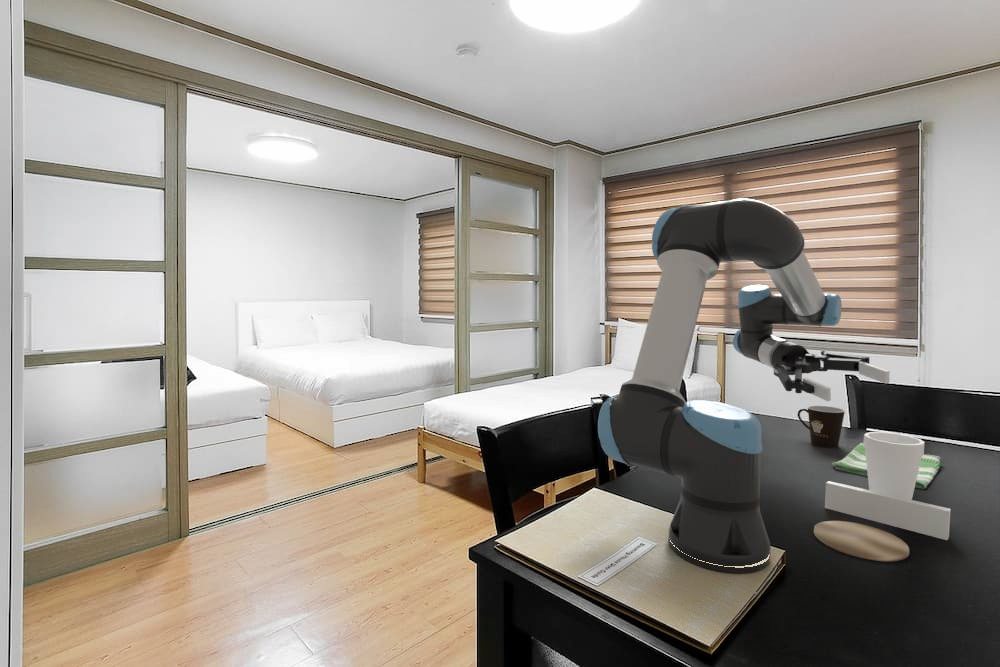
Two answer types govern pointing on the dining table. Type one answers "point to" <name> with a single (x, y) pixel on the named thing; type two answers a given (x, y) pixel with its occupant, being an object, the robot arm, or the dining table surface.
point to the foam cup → (893, 462)
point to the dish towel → (858, 465)
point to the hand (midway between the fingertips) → (858, 386)
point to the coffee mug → (824, 425)
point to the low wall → (889, 509)
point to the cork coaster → (861, 541)
